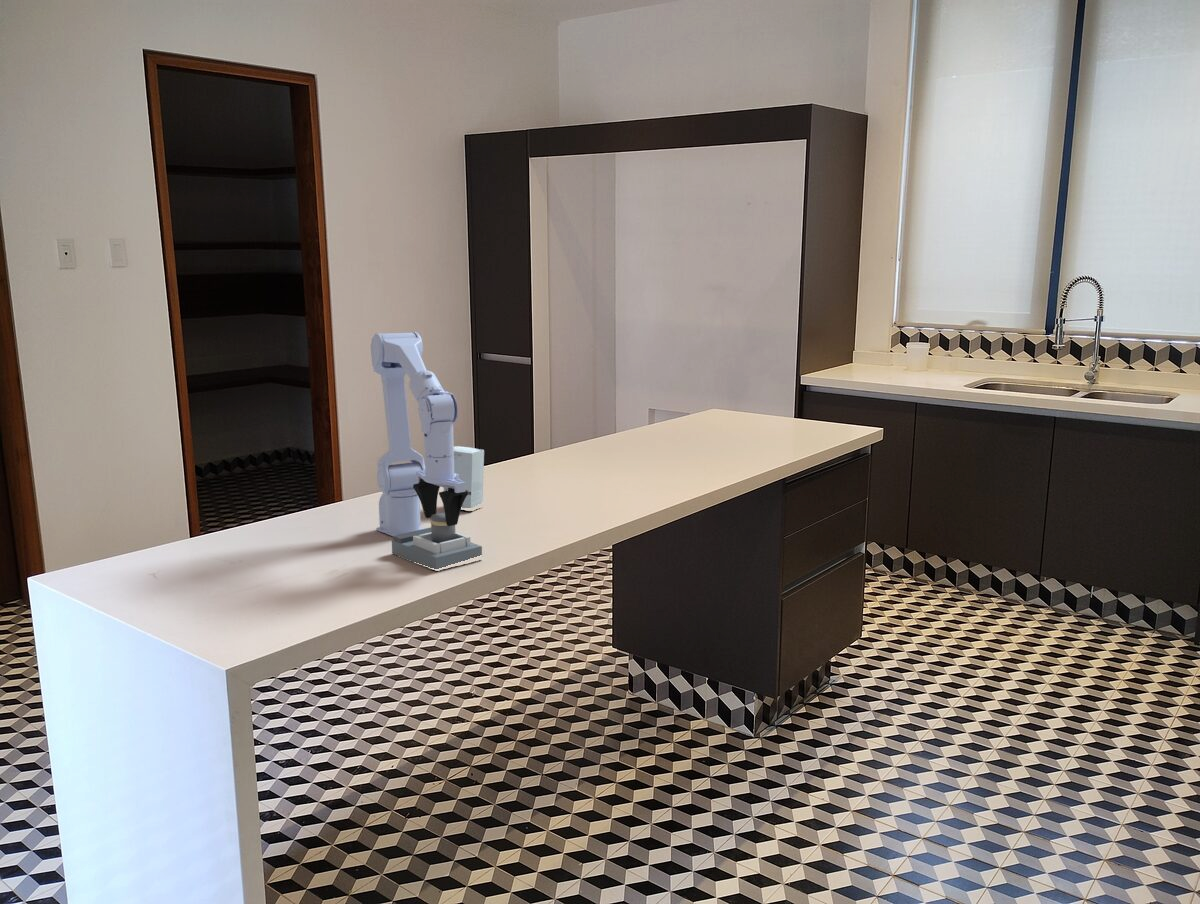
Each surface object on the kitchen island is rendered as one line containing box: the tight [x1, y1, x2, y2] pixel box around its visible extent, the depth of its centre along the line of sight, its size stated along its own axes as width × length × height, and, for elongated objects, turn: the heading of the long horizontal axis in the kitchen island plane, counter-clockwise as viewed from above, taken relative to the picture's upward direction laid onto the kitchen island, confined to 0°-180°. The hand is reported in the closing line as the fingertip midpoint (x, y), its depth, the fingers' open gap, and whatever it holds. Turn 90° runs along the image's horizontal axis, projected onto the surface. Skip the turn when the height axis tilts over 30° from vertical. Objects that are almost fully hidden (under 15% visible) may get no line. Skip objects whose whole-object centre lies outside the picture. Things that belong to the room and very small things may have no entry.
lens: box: [430, 512, 457, 544], centre depth 195 cm, size 5×5×6 cm
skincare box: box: [442, 445, 485, 508], centre depth 234 cm, size 8×6×15 cm
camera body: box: [391, 526, 483, 569], centre depth 197 cm, size 16×11×5 cm
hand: (441, 521), depth 194 cm, fingers open, 7 cm apart
